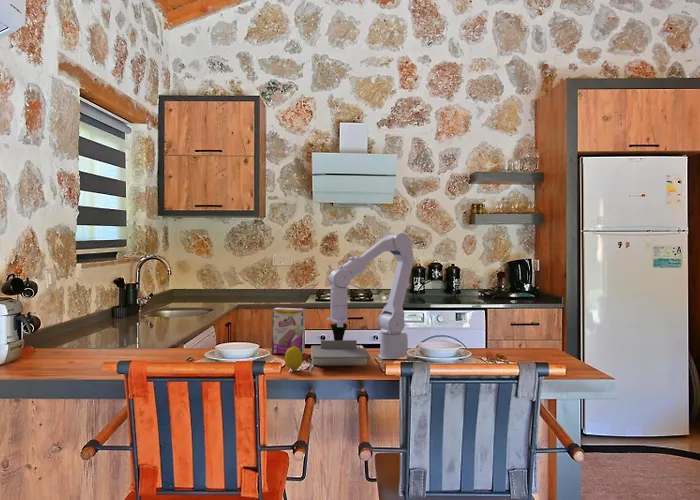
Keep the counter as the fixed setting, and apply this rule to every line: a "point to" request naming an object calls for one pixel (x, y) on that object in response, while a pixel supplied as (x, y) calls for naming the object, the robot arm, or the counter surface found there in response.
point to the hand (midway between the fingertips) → (338, 345)
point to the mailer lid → (340, 350)
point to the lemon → (293, 358)
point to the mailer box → (338, 361)
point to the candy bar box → (288, 329)
